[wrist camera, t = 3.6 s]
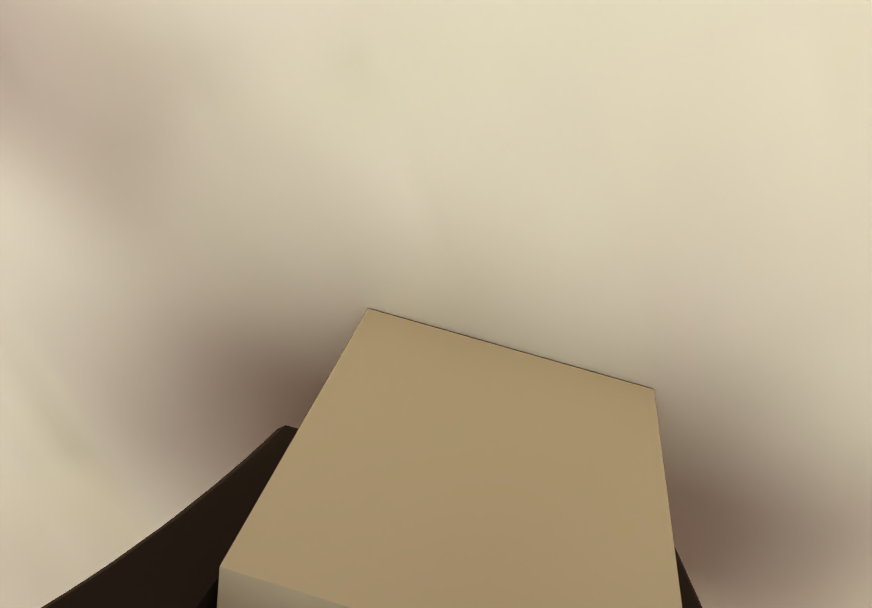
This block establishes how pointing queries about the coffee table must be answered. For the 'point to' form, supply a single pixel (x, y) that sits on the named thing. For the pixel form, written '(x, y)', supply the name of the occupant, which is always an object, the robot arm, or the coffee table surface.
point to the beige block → (461, 486)
